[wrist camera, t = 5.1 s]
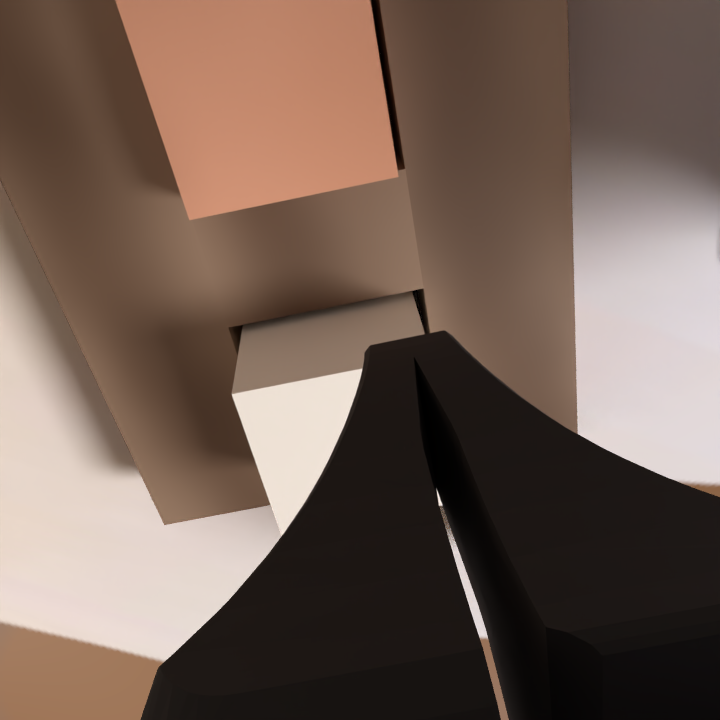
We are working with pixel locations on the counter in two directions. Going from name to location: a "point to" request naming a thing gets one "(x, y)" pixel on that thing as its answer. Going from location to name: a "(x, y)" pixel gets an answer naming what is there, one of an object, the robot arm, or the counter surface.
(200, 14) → the key terracotta
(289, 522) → the key cream
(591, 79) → the counter surface
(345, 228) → the brown rectangular tray
